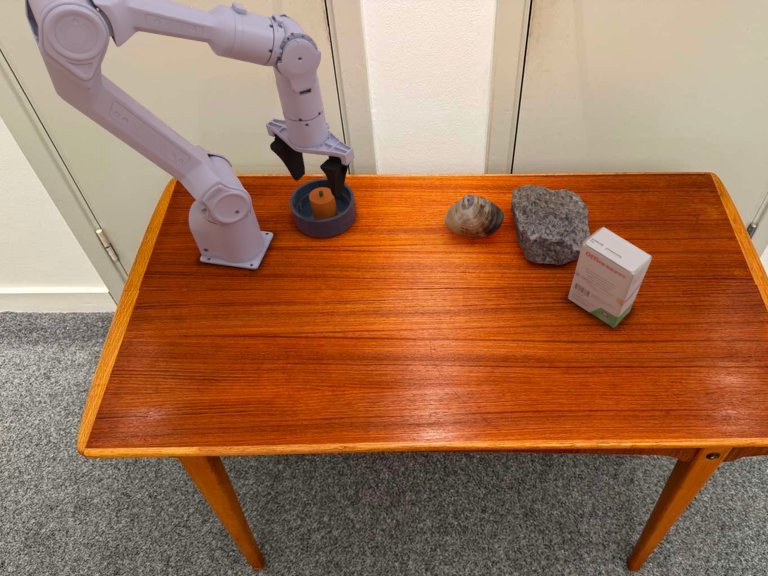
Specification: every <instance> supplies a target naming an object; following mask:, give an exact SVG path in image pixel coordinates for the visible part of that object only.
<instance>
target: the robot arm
mask: <svg viewBox="0 0 768 576" xmlns="http://www.w3.org/2000/svg"><path fill="white" fill-rule="evenodd" d="M231 3H232V4H231V6H230V5H226V4H221V3H220V4H217V5H216V6H214V7H212V8H211V9H210V10H207V11H206V10H203V9H200V8H198V7H197V8H196V7H194V6H190V5H187V4H184V3H180V2H178V1H174V0H24V13H25V17H26V20H27V23H28V25H29V27H30V30H31V32H32V35H33V37H34V40H35V43H36V46H37V48H38V51H39V53H40V56H41V58H42V60H43V61H42V62H43V63H44V65H45V68H46V70H47V74H48V76H49V78H50V81H51V83H52V85H53V89H54V91H55V93H56V94H57V96H59V97H60V99H62V100H63V101H64V102H66V103H67V104H68V105H70V106H71V107H73V108H74V109H76V110H77V111H78V112H80V113H81V114H82V115H84V116H86V117H87V118H89V119H90V120H91V121H93V122H94V123H96V124H97V125H99V127H100V128H103V130H106V131H107V132H108V133H110V134H111V135H113V136H114V137H116V138H117V139H118V140H120V141H121V142H123V143H124V144H126V145H127V146H129V147H130V148H131V149H133V150H134V151H135V152H137V153H138V154H140V155H141V156H142V157H144V158H146V159H147V160H148V161H149V162H151V163H153V164H154V165H155V166H157V167H158V168H160V169H161V170H163V171H164V172H166V173H167V175H170V176H171V177H173V178H174V179H175V180H177V181H178V182H179V183H180V184H181V185H182V186H183V187H184V188H185V189H186V191H187V192H188V193H189V194H190V195H191V196H192V197H193V199H194V201H193V202H192V204H191V206H190V208H189V213H188V226H189V230H190V233H191V234H192V235H191V236H192V237H193V238H194V242H195V243H196V246H197V248H198V250H199V253H200V254H201V256H200V257H199V260H200V262H201V263H207V264H213V265H221V266H226V267H227V266H228V267H234V268H241V269H247V270H258V268H259V266H260V264H261V263H262V261H263V258H264V256H265V255H266V252H267V250H268V249H269V246H270V244H271V242H272V240H273V238H274V233H273V232H271V231H264V230H261V227H260V224H259V222H258V218H257V216H256V212H255V210H254V207H253V202H252V196H251V195H250V193H249V192H248V190H246V189H245V187H244V185H243V184H242V182H241V180H240V179H239V177H238V175H237V174H236V172H235V171H234V169H233V167H232V166H233V165H232V163H231V162H230V160H229V159H228V158H227V157H226V156H224V155H222V154H220V153H218V152H217V153H216V152H211V151H209V150H207V149H205V148H204V147H203V146H202V145H199V144H198V145H194V144H193V143H191V142H190V141H189V140H188V139H186V138H185V137H184V136H183V135H181V134H179V132H177V131H176V130H175V129H173V128H172V127H171V126H169V125H168V124H167V123H166V122H164V121H163V120H161V118H159V116H157V115H155V113H153V112H151V111H150V110H149V109H148V108H147V107H145V106H144V105H143V104H141V103H140V102H139V101H138V100H136V99H135V98H134V97H132V95H130V94H129V93H127V92H126V91H125V90H124V89H122V88H121V87H120V86H119V85H117V84H115V83H114V82H113V81H112V80H111V79H110V78H108V77H107V76H106V75H104V74H103V73H102V64H103V62H104V59H105V56H106V54H107V52H108V49H109V44H110V39H112V41H113V43H114V44H115V46H116V48H120V47H121V46H123V45H124V44H125V43H126V42H127V41H128V40H130V39H131V38H132V37H133V36H134V35H135V34H136V33H138V32H140V33H141V32H142V33H148V34H153V35H159V36H165V37H170V38H171V37H172V38H177V39H183V40H188V41H189V40H190V41H195V42H201V43H206V44H208V47H209V48H210V49H211V51H212V52H213V53H214V54H215V55H216V56H218V57H222V58H227V59H232V60H235V61H241V62H245V63H249V64H255V65H258V66H263V67H272V69H273V73H274V77H275V85H276V89H277V93H278V98H279V101H280V106H281V110H282V115H283V119H284V120H283V119H279V118H276V117H273V118H272V119H271V120H270V121H268V122H267V123H266V124H265V127H266V131H267V135H268V136H269V137H272V138H273V141H272V142H271V143H270V144H269V148H270V150H271V151H272V152H273V153H274V154H275V155H276V156H277V157H278V158H279V159H280V160H281V161H282V163H283V164H284V166H285V167H286V169H287V171H288V172H289V174H290V176H291V178H292V179H293V180H294V181H295V182H298V181H299V180H301V179H302V178H303V176H305V175H306V167H305V161H304V154H309V155H319V156H328V158H327V159H326V160H325V161H324V162H322V164H320V165H319V169H320V170H321V171H322V172H323V173H324V175H325V178H327V179H328V182H329V185H330V190H331V193H332V195H333V196H334V197H338V196H339V195H340V194H341V193H342V192H343V191H344V184H346V183H345V182H346V178H347V173H348V170H349V167H350V164H351V162H353V161H354V160H355V151H354V147H352V146H350V145H348V144H346V143H345V142H344V141H342V140H341V139H340V138H339V137H337V135H335V133H333V132H332V131H331V130H330V129H331V126H330V123H329V122H327V119H326V114H325V108H324V103H323V97H322V90H321V86H320V85H321V84H320V79H319V76H318V72H317V70H318V68H319V67H320V65H321V61H322V51H321V50H319V49H318V45H317V43H316V42H315V40H314V39H313V38H312V37H311V36H310V34H309V33H308V32H307V31H306V30H305V29H304V27H302V25H301V24H300V23H299V22H298V21H297V20H295V19H294V18H293V17H291V16H289V15H287V14H286V13H284V12H283V13H276V14H272V16H266V15H263V14H259V13H255V12H252V11H247V8H246V7H245V6H244V5H243V4H242V3H240V2H236V1H233V2H231Z"/></svg>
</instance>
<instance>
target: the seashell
mask: <svg viewBox="0 0 768 576" xmlns="http://www.w3.org/2000/svg"><path fill="white" fill-rule="evenodd" d="M504 220H505V212H504V210H502V209H501V208H500V207H499V206H498V205H497V204H495V203H494V202H492V200H490V199H488V198H486V197H483V196H479V195H474V194H467V195H465V196H463V197H461V199H460V200H458V201H456V202H455V203H453V204H452V205H451V206H450V207H449V208H448V210H447V211H446V213H445V216H444V225H445V226H446V227H447V229H448V230H449V231H450V232H452V233H453V234H455V235H457V236H458V237H461V238H465V239H471V240H479V239H483V238H487V237H490V236H492V235H493V234H495V233H496V232H497V231H499V229H500V228H501V226H502V224H503V222H504Z"/></svg>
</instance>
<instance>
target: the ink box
mask: <svg viewBox="0 0 768 576" xmlns="http://www.w3.org/2000/svg"><path fill="white" fill-rule="evenodd" d="M652 259H653V256H652V255H651V254H649V253H648V252H647V251H644V250H643V249H641V248H639V247H637V246H636V245H634V244H632V243H631V242H629V241H628V240H626V239H624V237H621V236H619V235H618V234H616V233H614V232H613V231H611V230H609V228H606V227H605V226H601V227H600V228H599V229H597V230H596V231H595V232H593V233H592V234H590V237H589V238H588V239H586V240H585V241H584V242H583V244H582V248H581V252H580V255H579V258H578V259H577V263H576V267H575V270H574V275H573V278H572V282H571V285H570V288H569V291H568V295H567V299H568V300H569V301H570V302H572V303H574V304H576V305H577V306H579V307H580V308H581V309H583V310H585V311H586V312H587V313H589V314H590V315H593V317H596V318H597V319H599V320H600V321H601V322H603V323H604V324H606V325H608V326H609V327H611V328H612V329H615V328H616V327H617V326H618V325H619V324H620V322H622V321H623V319H624V318H625V317H627V315H628V314H629V313H630V312H631V309H632V307H633V305H634V302H635V300H636V298H637V295H638V293H639V290H640V288H641V286H642V283H643V280H644V278H645V276H646V273H647V271H648V269H649V266H650V264H651V262H652Z"/></svg>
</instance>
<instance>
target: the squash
mask: <svg viewBox="0 0 768 576" xmlns="http://www.w3.org/2000/svg"><path fill="white" fill-rule="evenodd" d="M309 199H310V204H311V208H312V212H313V217H314V219H315V220H322V219H329V218H332V217H335V216H337V214H338V213H337V208H336V202H335V197H334V196H333V195H332V193H331V190H330V189H329V188H326V187H320V188H316V189H314V190H313V191H312V192H311V193H310V195H309Z"/></svg>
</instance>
